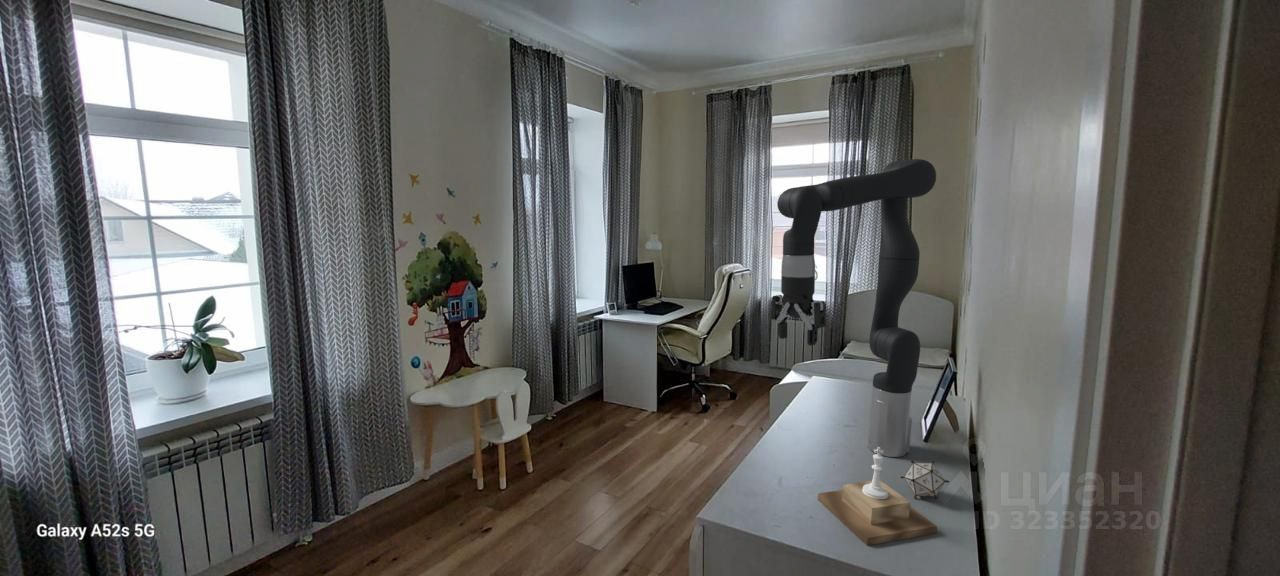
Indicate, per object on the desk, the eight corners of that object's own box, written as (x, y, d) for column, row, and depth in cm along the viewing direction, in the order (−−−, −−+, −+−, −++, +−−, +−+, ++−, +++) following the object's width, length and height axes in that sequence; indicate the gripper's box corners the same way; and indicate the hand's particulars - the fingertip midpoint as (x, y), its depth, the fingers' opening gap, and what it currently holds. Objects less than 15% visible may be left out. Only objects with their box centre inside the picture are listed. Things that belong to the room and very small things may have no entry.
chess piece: (891, 500, 104) (895, 454, 103) (865, 497, 105) (868, 451, 104) (884, 488, 109) (888, 443, 107) (859, 485, 110) (863, 441, 108)
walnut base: (879, 490, 117) (881, 470, 116) (936, 532, 102) (938, 509, 101) (817, 499, 113) (819, 478, 112) (866, 545, 98) (868, 521, 97)
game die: (928, 515, 114) (947, 497, 107) (891, 492, 118) (906, 473, 111) (940, 484, 119) (959, 465, 112) (904, 463, 123) (919, 443, 116)
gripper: (834, 275, 117) (832, 344, 119) (785, 270, 129) (784, 333, 131) (812, 278, 113) (810, 350, 115) (764, 272, 125) (763, 338, 127)
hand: (796, 341), depth 123 cm, fingers open, 8 cm apart
